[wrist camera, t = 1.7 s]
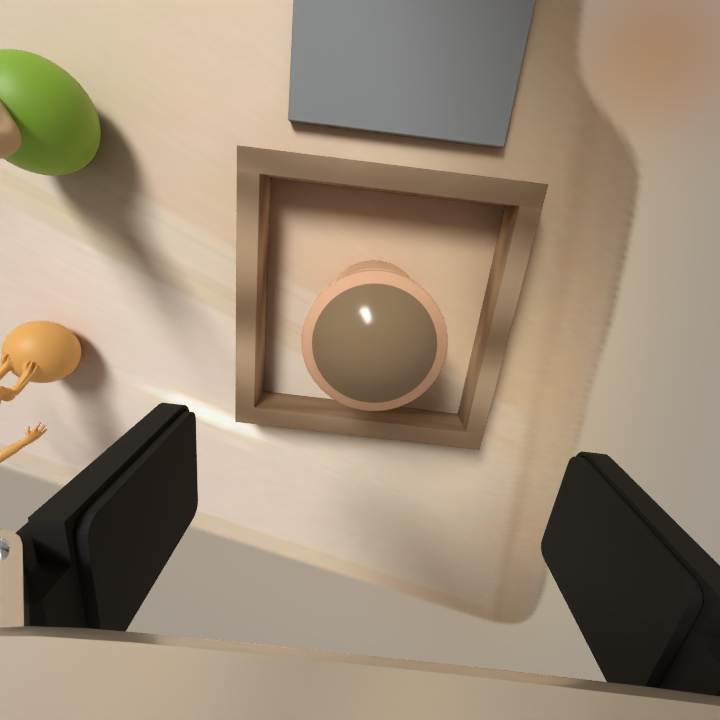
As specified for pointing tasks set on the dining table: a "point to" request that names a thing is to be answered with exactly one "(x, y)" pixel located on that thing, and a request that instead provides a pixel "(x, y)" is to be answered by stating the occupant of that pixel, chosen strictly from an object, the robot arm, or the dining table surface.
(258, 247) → the frame
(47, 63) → the snail figurine
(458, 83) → the grey mat
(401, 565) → the dining table surface
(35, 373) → the figurine
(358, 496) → the dining table surface
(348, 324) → the terracotta pot
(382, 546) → the dining table surface
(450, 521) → the dining table surface
